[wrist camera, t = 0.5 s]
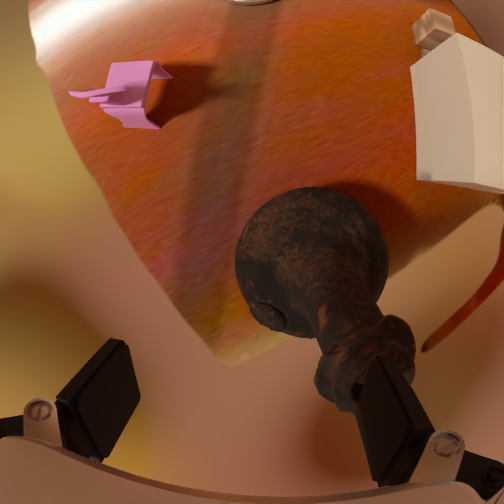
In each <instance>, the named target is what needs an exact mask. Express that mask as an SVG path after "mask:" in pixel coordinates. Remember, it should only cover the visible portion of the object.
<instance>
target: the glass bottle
mask: <svg viewBox="0 0 504 504" xmlns="http://www.w3.org/2000/svg"><path fill="white" fill-rule="evenodd" d="M388 267H389V256H388V248H387V243H386V240H385V237H384V234H383V231H382V229H381V227H380V225H379V223H378V222H377V220H376V219H375V217H374V216H373V215H372V214H371V212H370V211H369V210H368V209H367V208H366V207H365V206H364V205H362V204H361V203H360V202H358V201H357V200H355V199H354V198H352V197H350V196H349V195H347V194H345V193H342V192H340V191H337V190H332V189H328V188H322V187H303V188H298V189H294V190H290V191H288V192H285V193H282V194H280V195H278V196H276V197H274V198H272V199H271V200H269V201H268V202H267V203H265V204H264V205H263V206H261V207H260V208H259V209H258V210H257V211H256V212H255V213H254V214H253V216H252V217H251V218H250V219H249V221H248V222H247V224H246V225H245V227H244V229H243V231H242V233H241V235H240V238H239V241H238V244H237V248H236V255H235V273H236V278H237V282H238V285H239V288H240V291H241V293H242V295H243V297H244V299H245V300H246V302H247V304H248V305H249V309H250V312H251V314H252V316H253V317H254V318H255V319H256V320H257V321H258V322H259V323H260V324H261V325H263V326H265V327H268V328H270V330H273V331H277V332H283V333H286V334H288V335H292V336H295V337H300V338H310V339H312V338H317V341H318V343H319V346H320V348H321V350H322V354H323V355H322V356H321V358H320V360H319V363H318V368H317V370H316V374H315V378H314V384H315V386H316V388H317V390H318V391H319V394H320V395H321V396H323V398H325V399H327V400H329V401H331V402H334V403H335V404H336V406H337V407H338V410H339V411H342V412H350V413H352V414H353V415H355V411H356V407H357V404H358V401H359V398H360V395H361V392H362V389H363V386H364V382H365V379H366V376H367V372H368V369H369V366H370V362H371V360H375V358H376V356H380V355H392V357H393V358H394V360H395V362H396V363H397V365H398V367H399V368H400V370H401V372H402V374H403V375H404V377H405V379H406V381H407V382H408V384H409V386H411V384H412V382H413V380H414V376H415V364H414V359H415V352H416V347H415V340H414V335H413V333H412V331H411V329H410V326H409V325H408V324H407V323H406V322H405V321H404V320H402V319H401V318H399V317H397V316H394V315H386V316H383V314H382V313H381V311H380V309H379V307H378V306H377V304H376V302H377V301H378V299H379V297H380V295H381V293H382V291H383V289H384V286H385V283H386V279H387V275H388Z"/></svg>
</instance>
